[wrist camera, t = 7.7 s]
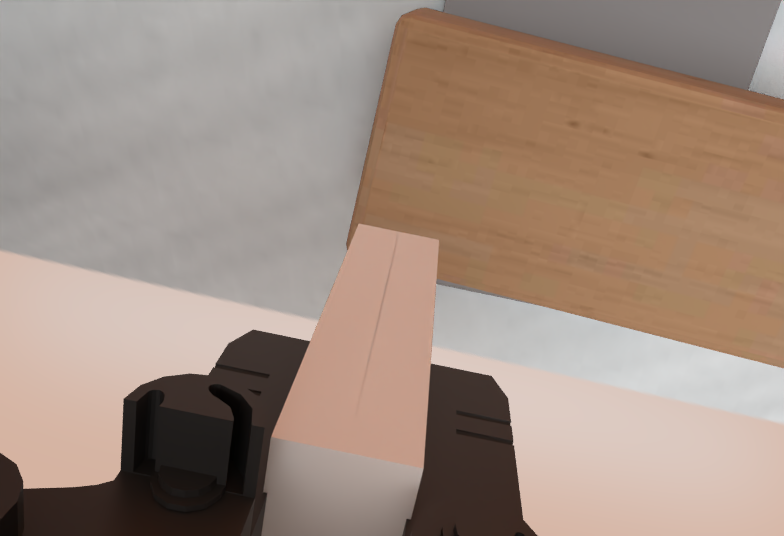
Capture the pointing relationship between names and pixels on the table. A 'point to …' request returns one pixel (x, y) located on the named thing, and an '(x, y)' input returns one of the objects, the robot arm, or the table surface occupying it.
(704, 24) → the mat
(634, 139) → the wooden block
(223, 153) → the table surface
